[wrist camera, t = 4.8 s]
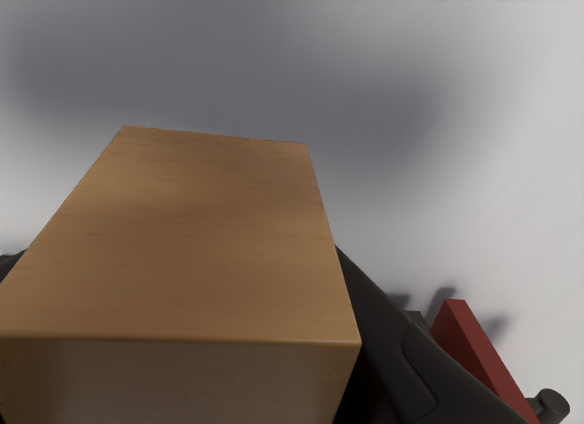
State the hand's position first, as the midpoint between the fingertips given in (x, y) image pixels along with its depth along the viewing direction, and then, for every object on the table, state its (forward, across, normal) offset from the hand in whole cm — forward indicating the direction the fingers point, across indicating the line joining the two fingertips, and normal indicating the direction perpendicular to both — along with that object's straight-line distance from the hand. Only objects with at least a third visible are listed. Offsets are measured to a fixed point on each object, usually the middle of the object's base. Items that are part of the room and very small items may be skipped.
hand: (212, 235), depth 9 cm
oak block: (+1, 0, 0) cm, 1 cm away
